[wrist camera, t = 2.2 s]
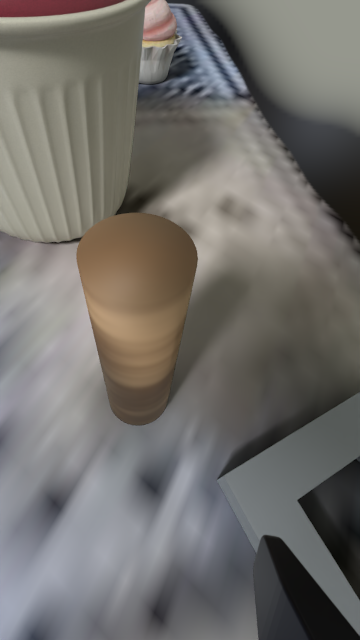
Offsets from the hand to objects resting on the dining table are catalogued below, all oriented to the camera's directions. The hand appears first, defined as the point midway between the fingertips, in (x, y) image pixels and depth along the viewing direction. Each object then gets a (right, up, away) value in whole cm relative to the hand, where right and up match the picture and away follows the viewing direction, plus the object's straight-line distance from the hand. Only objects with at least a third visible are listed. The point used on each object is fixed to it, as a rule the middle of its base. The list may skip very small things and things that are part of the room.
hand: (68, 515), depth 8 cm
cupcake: (-2, +40, +41) cm, 57 cm away
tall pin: (0, -1, +15) cm, 15 cm away
